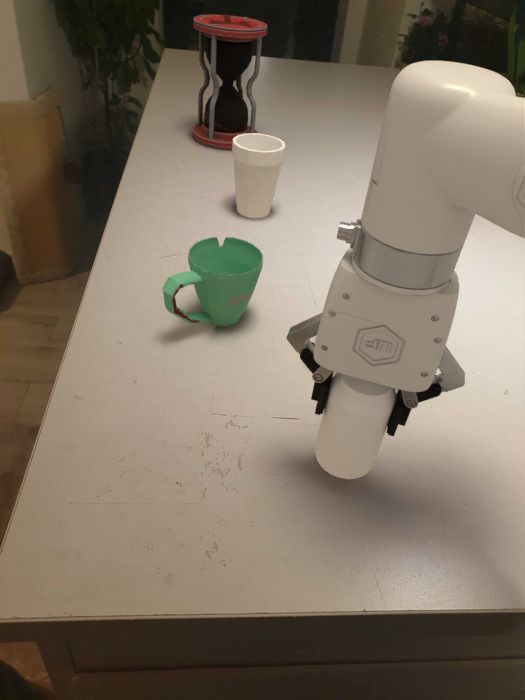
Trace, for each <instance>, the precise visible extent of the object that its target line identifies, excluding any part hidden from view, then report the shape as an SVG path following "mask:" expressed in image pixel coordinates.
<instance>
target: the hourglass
mask: <svg viewBox="0 0 525 700" xmlns="http://www.w3.org/2000/svg"><path fill="white" fill-rule="evenodd" d="M192 20H193V22H192V23H193V24H192V26H193V27H192V28H194V29H195V30H196V31H199V32H198V33H199V34H198V35H199V36H198V61H199V66H200V67H201V70H202V71H203V78H204V79H203V83H202V86H201V87H200V88H199V91H198V97H197V100H198V101H197V103H198V105H197V107H198V108H197V124H195V125H193V127H192V138H193V139H194V140H195V141H196V142H197V143H199V144H201V145H204V146H207V147H209V148H215V149H221V150H232V143H233V138H234V137H236V136H237V135H241V134H246V133H258V134H259V131H257V130H256V117H257V103H256V100H255V98H254V96H253V89H252V88H253V85H254V82H255V80H257V78H258V76H259V74H260V67H261V55H262V43H263V42H262V41H263V40H262V39H263V37H265V36H266V35H267V34H268V25H267V23H265V22H263V21H261V20H258V19H255V18H251V17H248V16H238V15H231V14H214V13H213V14H212V13H211V14H199V15H196V16H194V17H193V19H192ZM205 36H206V39H205ZM255 40H256V46H255V58H254V59H255V60H254V70H253V73H252V75H251V76H250V78H249V79H248V80H247V83H246V86H245V91H246V92H245V93H246V98H247V99H248V101H249V103H250V107H251V112H250V124H249V108H248V105H247V102H246V101H245V99H244V90H243V87H242V78H243V77H242V76H243V74H244V73H245V72H246V70H247V69H248V68H249V66H250V65H251V63H252V60H253V55H254V41H255ZM205 56H206V59H207V61H208V64H209V66H210V70H209V69H208V67H207V64H206V62H205ZM218 77H219V78H218ZM219 79H220V80H221V82H222V83H221V85H220V80H219ZM211 80H212V89H213V90H212V94H211V95H210V97H208V99H207V101H206V103H205V106H204V94H205V91H206V90H207V88H208V87H209V85H210V81H211ZM234 82H235V85H236V87H235V86H234ZM248 124H249V125H248Z"/></svg>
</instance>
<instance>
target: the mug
mask: <svg viewBox="0 0 525 700" xmlns="http://www.w3.org/2000/svg"><path fill="white" fill-rule="evenodd" d="M187 263H188V266H189V270H188V271H182V272H178V273H175V274H173V275H170V276H169V277H167V279H166V280H165V283H164V284H163V286H162V294H163V301H164V307H165V309H166V311H167V312H169V313H170V314H172V315H173V316H175V317H178V318H179V319H181V320H182V321H184V322H187V323H189V324H204V323H205V324H206V323H208V324H209V323H210V324H211V325H214V326H216V327H230V326H234V325H236V324H237V323H238V322H239V321H240V318H241V317H242V315H243V313H244V312H245V311H246V309H247V306H248V305H249V303H250V301H251V298H252V296H253V295H254V292H255V289H256V287H257V283H258V281H259V278H260V275H261V272H262V269H263V265H264V254H263V253H262V251H261V249H260V248H259V247H257V246H256V245H254V244H253V243H251V242H249V241H247V240H245V239H242V238H237V237H232V236H225V237H224V240H223V244H222V245H220V242H219V238H218V237H217V236H211V237H208V238H203V239H200V240H199V241H197V242H194V244H193V245H191V246H190V248H189V249H188V253H187ZM191 285H193V287H194V290H195V294H196V296H197V299H198V303H199V305H200V308H201V310H202V311H189V312H186V311H185V310H183V309H181V308H180V307H179V306H177V300H176V296H177V294H178V292H180V289H183V288H185V287H187V286H191Z"/></svg>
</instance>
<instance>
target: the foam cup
mask: <svg viewBox="0 0 525 700" xmlns="http://www.w3.org/2000/svg"><path fill="white" fill-rule="evenodd" d="M286 148H287V146H286V143H285V141H283V140H282V139H280V138H279V137H276V136H273V135H270V134H264V133H259V132H258V133H246V134H241V135H237V136H236V137H234V138H233V143H232V149H231V154H232V157H233V173H234V174H233V175H234V187H235V201H236V202H235V203H236V212H237V213H238V214H239V215H240V216H242V217H246V218H250V219H262V218H265V217H267V216H269V215H270V211H271V209H272V205H273V200H274V196H275V193H276V189H277V185H278V181H279V177H280V173H281V170H282V166H283V161H284V160H285V156H286Z"/></svg>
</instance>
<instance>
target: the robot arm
mask: <svg viewBox="0 0 525 700" xmlns="http://www.w3.org/2000/svg"><path fill="white" fill-rule="evenodd" d="M368 181H369V182H368V186H367V190H366V195H365V199H364V204H363V209H362V213H361V216H360V219H359V218H357V219H356V222H353V221H351V222H344V221H340V223H339V225H338V229H337V233H336V239H337V240H340V241H344V242H345V244H350V245H349V246H350V247H349V248H348V249H347V250H346V251H345V253H344V255H343V256H342V257H341V259H340V261H339V263H338V265H337V268H336V270H335V272H334V273H333V274H334V275H333V277H332V280H331V282H330V286H329V289H328V291H327V295H326V299H325V302H324V305H323V309H322V311H321V312H320V313H318V314H316V315H314V316H312V317H309V318H307V319H306V320H303V321H300V322H299V323H297V324H295V325H292V326H291V327H290V328H289V330H288V333H287V335H286V341H287V342H288V343H289V345H290V346H291V347H292V348H293V349H294V351H295V352H296V353H298V354H299V359H300V360H301V362H302V363H303V364H304V366H306V368H307V369H308V370H309V372H311V374H312V375H311V379H312V380H313V381H314V382H313V387H312V393H311V396H310V397H311V398H310V400H312V401H314V402H316V406H315V411H314V415H318V416H321V415H323V411H324V407H325V403H326V399H327V395H328V390H329V386H330V383H331V380H332V378H333V376H334V374H335V373H341V374H344V375H348V376H352V377H355V378H359V379H363V380H366V381H370V382H374V383H377V384H381V385H385V386H388V387H392V388H395V390H396V394H397V400H396V404H395V406H394V409H393V412H392V415H391V417H390V420H389V423H388V426H387V428H386V431H385V434H387V435H388V436H391V437H395V434H396V432H397V430H398V426H402V427H405V426H406V424H407V422H408V419H409V416H410V414H411V411H412V409H416V408H417V407H418V406H419V403H422V402H426V401H428V400H432V399H434V398H437V397H439V396H440V395H441V394H442V393H448V392H451V391H453V390H456V389H460V388H462V387H464V386H465V384H466V372H465V370H464V369H463V368H462V366H461V364H460V363H459V362H458V361H457V359H456V358H455V357H454V355H453V354H452V352H451V351H450V350H449V348H448V347H447V346H446V345H447V343H448V340H449V335H450V332H451V329H452V325H453V322H454V319H455V315H456V309H457V305H458V301H459V294H460V282H459V276H458V274H457V272H456V271H455V269H456V266H457V264H458V261H459V258H460V256H461V254H462V250H463V248H464V245H465V244H466V243H465V242H466V240H467V237H468V235H469V233H470V229H471V227H472V224H473V222H474V219H475V216H476V215H477V216H479V217H481V218H483V219H484V220H487V221H488V222H490V223H492V224H494V225H495V226H498V227H499V228H501V229H503V230H505V231H507V232H509V233H511V234H514V235H515V236H517V237H520V238H523V239H525V97H521V96H517V94H516V91H515V86H513V84H512V83H511V82H510V80H508V78H506V77H505V76H504V75H502V74H501V73H498V72H496V71H493V70H490V69H487V68H485V67H481V66H476V65H472V64H468V63H462V62H458V61H457V62H456V61H449V60H448V61H447V60H422V61H417V62H413V63H410V64H408V65H407V66H405V67H403V68H402V69H401V70H400V71H399V72H398V74H397V75H396V77H395V78H394V79H393V82H392V84H391V87H390V91H389V94H388V98H387V102H386V107H385V111H384V115H383V119H382V125H381V128H380V133H379V137H378V141H377V146H376V150H375V155H374V159H373V164H372V168H371V172H370V178H369V180H368ZM313 337H315V342H313V341H311V339H312V338H313ZM325 346H326V348H325ZM438 370H439V373H438V374H437V372H438Z"/></svg>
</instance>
